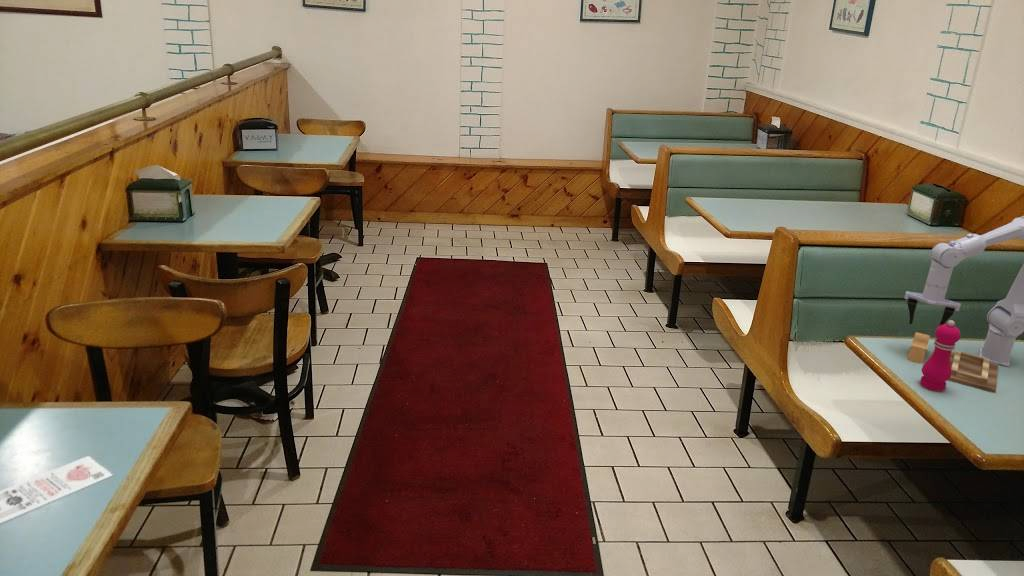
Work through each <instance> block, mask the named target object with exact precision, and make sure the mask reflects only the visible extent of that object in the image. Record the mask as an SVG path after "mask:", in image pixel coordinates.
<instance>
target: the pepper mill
mask: <svg viewBox="0 0 1024 576" xmlns="http://www.w3.org/2000/svg"><path fill="white" fill-rule="evenodd" d="M939 325H940V324H939ZM939 325H938V327H936V328H935V332H934V336H935V340H934V343H933V346H934V349H933V352H932V354H931V356H930V357H929V358H928V359H927V360H926V361H925V362H923V365H922V368H921V372H922V373H921V374H922V376H921V377H920V380H919V381H920V382H919V383H920V385H921V386H922V387H923V388H925V389H928V390H930V391H934V392H943V391H945V389H946V387H947V381H949V379H950V377H951V373H952V369H951V364H950V355H951V352H953V351H955V347H956V343H958V342H959V340H960V339H961V331H960V329H959V328H958V327H957V326H955V325H956V322H955V321H954V320H952V319H948V320H947V321H946V323H945V324H943V325H940V326H939Z"/></svg>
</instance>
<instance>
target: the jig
mask: <svg viewBox="0 0 1024 576" xmlns="http://www.w3.org/2000/svg"><path fill="white" fill-rule="evenodd" d="M989 361H990V359H987V358H984V357H981V356H979V355H977V354H973V353H969V352H965V351H962V350H961V351H958V350H954V351H952V352H951V355H950V364H951V369H952V373H951V377H950V379H949V380H950V381H949V380H948V381H949V382H953V383H956V382H957V383H958V384H961V385H963V386H969V387H972V388H976V389H979V390H983V391H987V392H991V393H993V394H994V393H995V394H996V391H997V382H998V381H997V380H998V372H999V371H998V369H999V364H997V363H993V362H989ZM957 383H956V384H957Z"/></svg>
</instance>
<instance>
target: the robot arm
mask: <svg viewBox="0 0 1024 576" xmlns="http://www.w3.org/2000/svg"><path fill="white" fill-rule="evenodd" d="M1013 239H1018V240H1022V241H1024V215H1022V216H1020V217H1015V218H1014V219H1012V221H1011V222H1009V223H1007V224H1005V225H1002V226H999V227H997V228H995V229H993V230H991V231H988V232H986V233H984V234H981V235H979V234H978V233H968V234H966V235H965V236H964V237H962V238H958V239H955V240H950V241H949V242H948V243H946V242H939V243H938V244H936V245H934V246H933V247H932V249H931V250H929V257H930V259H931V261H930V268H929V271H928V274H927V277H926V281H925V285H924V287H923V288H924V289H923V292H922V293H921V292H914V291H913V292H912V291H908V290H906V291H905V294H904V299H905V300H907V302H906V304H907V308H908V311H909V312H908V314H909V321H908V322H909V325H912V324H913V322H914V318H915V311H916V308H917V305H918V302H919V303H923V304H924V303H925V304H928V305H932V306H938V307H942V308H944V311H943V314H942V317H941V320H940V322H939V325H938V327H939V326H940V325H943V324H946V323H947V322H948V321H949V320H950V318H951V317H952V316H953V315H954V313H955V312H959V311H960V308H961V305H962V303H961V302H957V301H953V300H950V299H948V298H946V294H947V291H948V288H949V284H950V281H951V277H952V274H953V270H954V267H957V265H959V264H960V263H961V261H963V260H964V259H967V258H970V257H973V256H975V255H978V254H981V253H983V252H984V251H985V249H986V248H987V247H988V246H992V245H996V244H998V243H1002V242H1005V241H1010V240H1013ZM986 320H987V322H988V323H989V324H988V330H987V333H986V336H985V340H984V343H983V345H982V346H983V347H979V353H978V354H979V355H978V356H981V357H984V358H987V359H990V361H989V362H993V363H997V364H998V365H1002V366H1005V367H1010V361H1011V353H1012V351H1013V347H1014V344H1015V341H1016V340H1017V339H1016V338H1018V337H1019V336H1020V335H1022V334H1023V333H1024V262H1023V263H1022V264H1021V268H1020V269H1019V272H1018V274H1017V276H1016V277H1015V279H1014V281H1013V283H1012V284H1011V287H1010V289H1009V290H1008V292H1007V295H1006V296H1005V298H1003V299H1001V300H998V301H996V303H995V305H994V306H993V307H992V308H990V310H989V311H988V313H987V314H986Z"/></svg>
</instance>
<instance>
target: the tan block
mask: <svg viewBox="0 0 1024 576" xmlns="http://www.w3.org/2000/svg"><path fill="white" fill-rule="evenodd" d="M930 337H931V335H929V334H925V333H921V332H915V333H914V336H913V339H912V343H911V344H910V345H911V346H910V350H909V352H908V356H907V358H906V360H907V361H909V360H910V362H913V361H914V362H913V363H917V362H918V364H921V363H922V364H924V359H925V355H926V352H927V349H928V344H929V341H930Z"/></svg>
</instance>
